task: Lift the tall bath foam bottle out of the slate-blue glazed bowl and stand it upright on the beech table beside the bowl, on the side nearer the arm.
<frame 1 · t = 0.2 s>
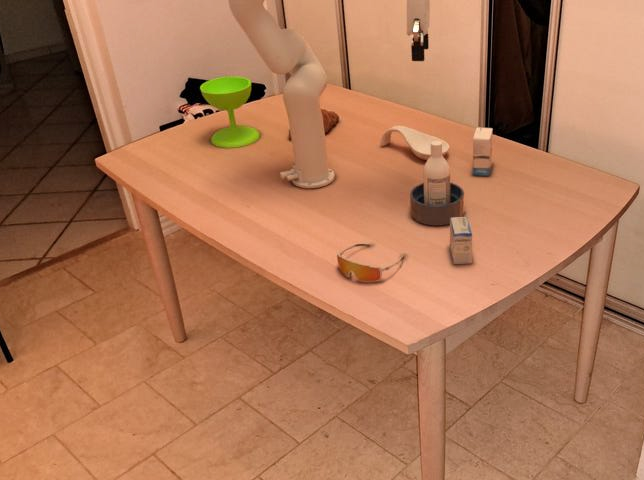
hand: (420, 54, 183), 37 cm above the table, tool pointing down, fingers open, 9 cm apart
bowl: (437, 213, 189), on the table
bath foam: (437, 212, 189), resting in bowl
spoon rest: (414, 153, 221), on the table
wineglass: (235, 138, 235), on the table
ink box: (482, 170, 210), on the table
sunglasses: (370, 265, 170), on the table
medicine box: (460, 256, 172), on the table
pastry: (314, 130, 238), on the table
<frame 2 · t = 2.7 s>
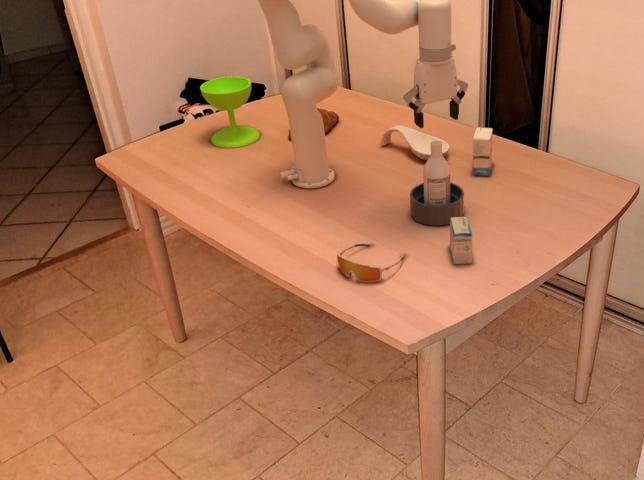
hand: (436, 122, 175), 26 cm above the table, tool pointing down, fingers open, 9 cm apart
nothing on the table moved.
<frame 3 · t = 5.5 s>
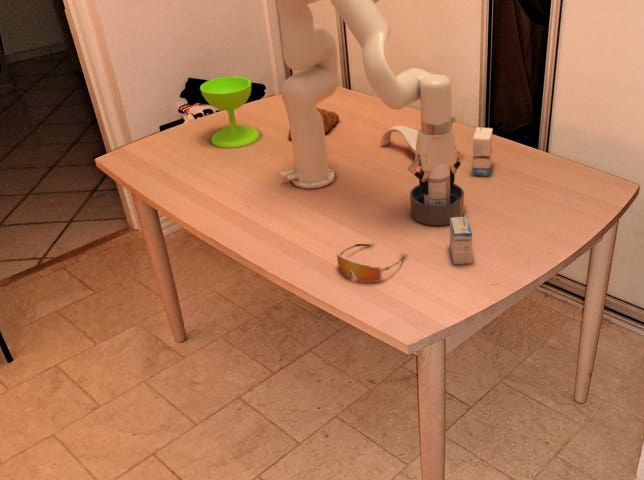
hand: (437, 188, 185), 7 cm above the table, tool pointing down, fingers closed on bath foam, 6 cm apart
bath foam: (437, 212, 189), resting in bowl, touching gripper
everything else where it was.
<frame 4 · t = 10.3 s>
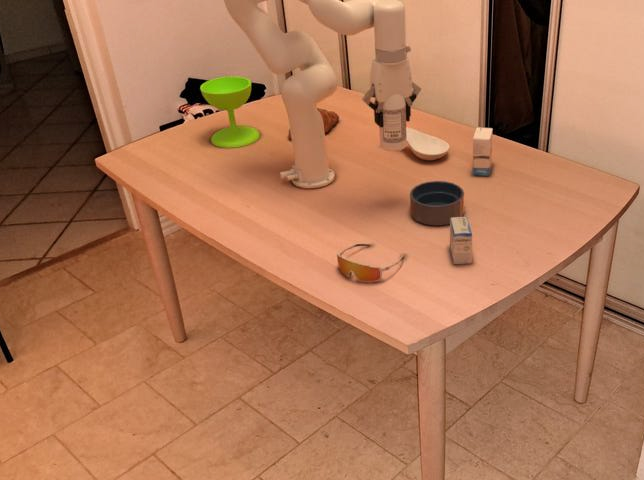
hand: (392, 122, 182), 23 cm above the table, tool pointing down, fingers closed on bath foam, 6 cm apart
bath foam: (393, 147, 187), point 16 cm above the table, touching gripper
everything else where it was.
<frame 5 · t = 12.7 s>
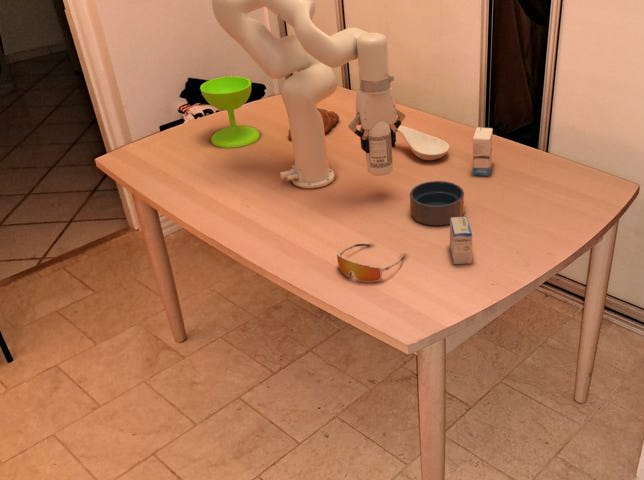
hand: (378, 147, 190), 15 cm above the table, tool pointing down, fingers closed on bath foam, 6 cm apart
bath foam: (380, 171, 194), point 8 cm above the table, touching gripper
everything else where it was.
when the fingers open (7 cm above the table, at t = 15.1 s): bath foam stays where it is, on the table.
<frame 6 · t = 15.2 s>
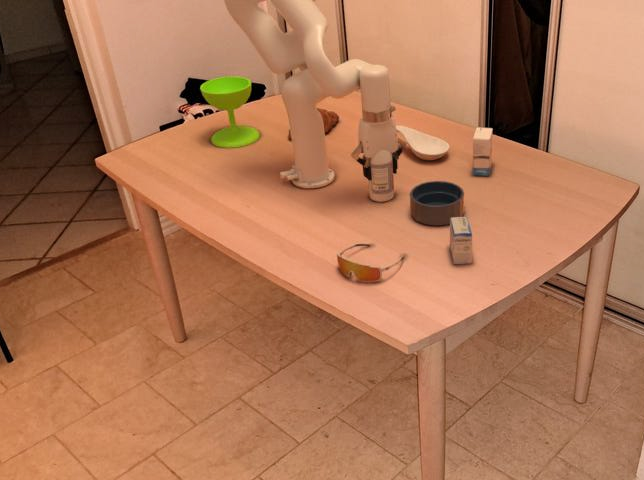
hand: (380, 174, 194), 7 cm above the table, tool pointing down, fingers open, 7 cm apart
bath foam: (381, 197, 198), on the table
everything else where it was.
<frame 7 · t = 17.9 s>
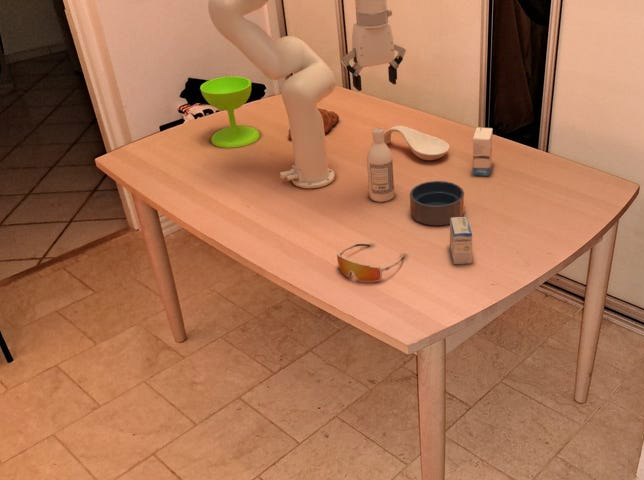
hand: (375, 86, 182), 31 cm above the table, tool pointing down, fingers open, 9 cm apart
nothing on the table moved.
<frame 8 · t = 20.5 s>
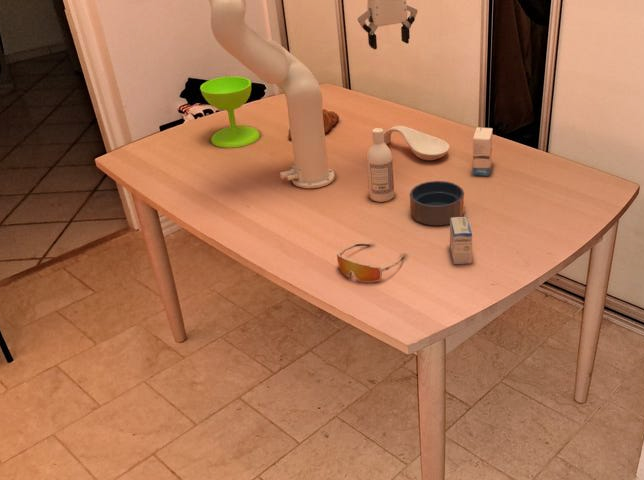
hand: (389, 45, 194), 36 cm above the table, tool pointing down, fingers open, 9 cm apart
nothing on the table moved.
at the end: bath foam inside the target area (0.1 cm from its centre), on the table; bath foam tilted 0°; bath foam touching table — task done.
